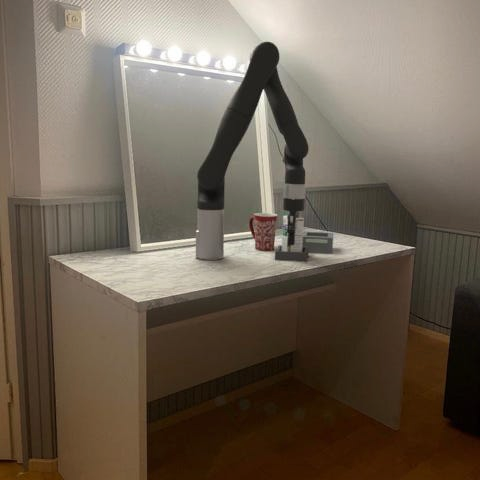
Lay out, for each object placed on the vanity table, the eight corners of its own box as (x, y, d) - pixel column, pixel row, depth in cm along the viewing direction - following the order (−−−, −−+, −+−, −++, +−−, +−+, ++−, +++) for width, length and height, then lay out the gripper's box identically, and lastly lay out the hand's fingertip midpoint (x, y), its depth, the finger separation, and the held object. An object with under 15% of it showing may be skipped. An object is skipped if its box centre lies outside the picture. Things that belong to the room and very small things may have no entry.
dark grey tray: (274, 259, 172) (275, 251, 171) (278, 253, 182) (278, 245, 182) (306, 261, 170) (306, 253, 169) (308, 255, 180) (308, 247, 180)
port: (299, 252, 185) (300, 236, 184) (302, 246, 197) (302, 231, 196) (332, 254, 183) (333, 238, 182) (332, 247, 195) (333, 232, 194)
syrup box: (280, 255, 178) (282, 215, 175) (295, 254, 180) (297, 214, 177) (287, 258, 172) (289, 217, 170) (302, 257, 175) (304, 217, 172)
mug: (281, 249, 190) (282, 214, 187) (264, 252, 184) (265, 216, 181) (258, 244, 199) (259, 211, 196) (242, 247, 193) (242, 212, 190)
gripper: (285, 194, 180) (283, 238, 183) (281, 198, 166) (279, 245, 169) (306, 195, 178) (304, 239, 181) (303, 199, 165) (301, 247, 168)
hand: (292, 242), depth 175 cm, fingers closed on syrup box, 8 cm apart
